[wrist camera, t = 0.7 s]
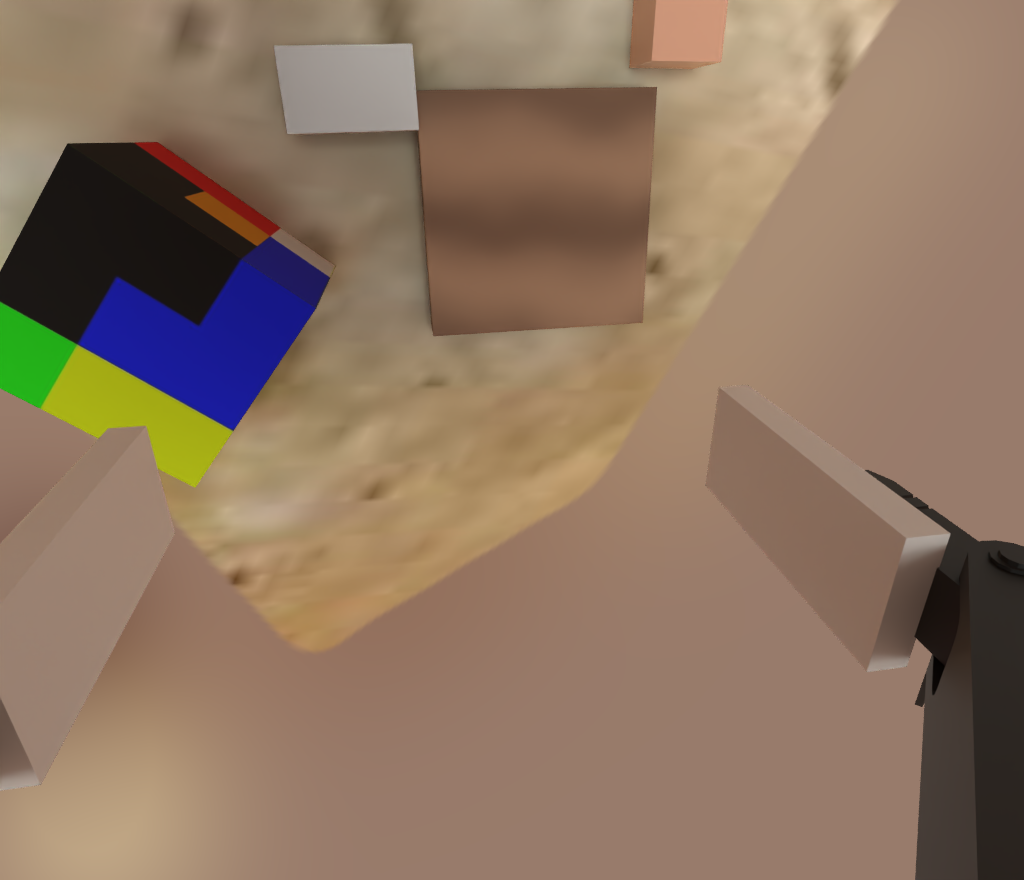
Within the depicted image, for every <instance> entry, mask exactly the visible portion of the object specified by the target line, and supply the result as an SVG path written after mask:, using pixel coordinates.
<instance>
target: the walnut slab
mask: <svg viewBox="0 0 1024 880" xmlns="http://www.w3.org/2000/svg"><path fill="white" fill-rule="evenodd" d="M656 93H657V87H637V88H566V89H496V90H426V91H416V97H417V109H418V121H419V130H418V131H417V134H418V148H419V161H420V175H421V188H422V202H423V215H424V229H425V243H426V256H427V270H428V283H429V297H430V311H431V324H432V331H433V336H443V335H459V334H475V333H490V332H506V331H521V330H537V329H552V328H568V327H584V326H599V325H615V324H630V323H643V306H644V290H645V273H646V257H647V241H648V224H649V208H650V192H651V175H652V159H653V143H654V126H655V110H656Z"/></svg>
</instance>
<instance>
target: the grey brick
mask: <svg viewBox="0 0 1024 880" xmlns="http://www.w3.org/2000/svg"><path fill="white" fill-rule="evenodd" d="M274 52H275V58H276V64H277V71H278V77H279V84H280V90H281V97H282V103H283V109H284V116H285V122H286V129H287V134H294V135H303V134H335V133H366V132H398V131H418V130H419V121H418V109H417V97H416V84H415V72H414V59H413V47H412V44H350V45H281V46H274Z"/></svg>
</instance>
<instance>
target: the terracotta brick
mask: <svg viewBox="0 0 1024 880" xmlns="http://www.w3.org/2000/svg"><path fill="white" fill-rule="evenodd" d="M727 5H728V0H634V2H633V18H632V34H631V50H630V65H629V68H682V69H694V68H698V67H702V66H706V65H711V64H715V63H719V62H721V58H722V49H723V41H724V32H725V23H726V14H727Z"/></svg>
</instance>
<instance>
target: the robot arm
mask: <svg viewBox="0 0 1024 880" xmlns="http://www.w3.org/2000/svg"><path fill="white" fill-rule="evenodd" d="M706 487H707V488H708V489H709V490H710V491H711V493H712V494H713V495H714V496H715V497H716V498H717V500H718V501H719V502H720V503H721V504H722V505H723V506H724V508H725V509H726V510H727V511H728V512H729V513H730V514H731V516H732V517H733V518H734V519H735V520H736V522H737V523H738V524H739V525H740V526H741V527H742V528H743V530H744V531H745V532H746V533H747V534H748V535H749V536H750V538H751V539H752V540H753V541H754V542H755V543H756V545H757V546H758V547H759V548H760V549H761V550H762V552H763V553H764V554H765V555H766V556H767V557H768V558H769V560H770V561H771V562H772V563H773V564H774V565H775V566H776V567H777V569H778V570H779V571H780V572H781V573H782V575H783V576H784V577H785V578H786V579H787V580H788V582H789V583H790V584H791V585H792V586H793V587H794V588H795V590H796V591H797V592H798V593H799V594H800V595H801V597H802V598H803V599H804V600H805V601H806V602H807V604H808V605H809V606H810V607H811V608H812V609H813V610H814V612H815V613H816V614H817V615H818V616H819V617H820V619H821V620H822V621H823V622H824V623H825V624H826V625H827V627H828V628H829V629H830V630H831V631H832V632H833V634H834V635H835V636H836V637H837V638H838V639H839V640H840V641H841V643H842V644H843V645H844V646H845V647H846V649H847V650H848V651H849V652H850V653H851V654H852V656H853V657H854V658H855V659H856V660H857V661H858V663H859V664H860V665H861V666H862V667H863V668H864V669H865V671H866V672H871V671H877V670H885V669H892V668H899V667H906V666H907V664H908V661H909V658H910V655H911V652H912V649H913V646H914V643H915V640H916V638H917V639H918V640H919V641H920V642H921V643H922V644H923V645H924V646H925V647H926V648H927V649H928V650H929V651H930V652H931V653H932V656H931V659H930V662H929V666H928V668H927V671H926V674H925V677H924V679H923V682H922V685H921V688H920V691H919V694H918V697H917V700H916V703H915V705H918V706H921V707H922V706H923V705H924V703H925V706H924V707H925V708H924V725H923V745H922V763H921V782H920V801H919V820H918V821H919V822H918V839H917V858H916V859H917V860H916V876H915V880H1024V547H1023V546H1020V545H1017V544H1014V543H1008V542H1002V541H980V542H979V541H977V540H976V539H974V538H973V537H971V536H970V535H969V534H967V533H966V532H965V531H963V530H962V529H960V528H959V527H958V526H956V525H955V524H953V523H952V522H950V521H949V520H948V519H946V518H945V517H943V516H942V515H940V514H939V513H938V512H936V511H935V510H933V509H929V508H928V505H927V504H925V503H924V502H922V501H921V500H920V499H918V498H917V497H915V498H913V494H911V493H910V492H908V491H907V490H905V489H904V488H903V487H901V486H900V485H899V484H897V483H896V482H894V481H892V480H890V479H888V478H885V477H883V476H881V475H878V474H876V473H874V472H872V471H869V470H863V469H862V468H861V467H859V466H858V465H857V464H855V463H854V462H852V461H851V460H850V459H848V458H847V457H846V456H844V455H843V454H842V453H840V452H839V451H837V450H836V449H835V448H833V447H832V446H831V445H829V444H828V443H826V442H825V441H824V440H822V439H821V438H820V437H818V436H817V435H816V434H814V433H813V432H811V431H810V430H809V429H807V428H806V427H805V426H803V425H802V424H801V423H799V422H798V421H796V420H795V419H794V418H792V417H791V416H790V415H788V414H787V413H786V412H784V411H783V410H782V409H780V408H779V407H777V406H776V405H775V404H773V403H772V402H771V401H769V400H768V399H767V398H765V397H764V396H762V395H761V394H760V393H758V392H757V391H755V390H754V389H753V388H752V387H750V386H749V385H741V386H727V387H719V389H718V397H717V404H716V412H715V419H714V426H713V433H712V441H711V448H710V456H709V464H708V470H707V478H706ZM174 534H175V531H174V527H173V524H172V520H171V516H170V513H169V509H168V505H167V501H166V498H165V494H164V490H163V486H162V483H161V479H160V475H159V472H158V468H157V464H156V460H155V457H154V453H153V449H152V446H151V442H150V438H149V434H148V431H147V427H146V426H136V427H121V428H108V429H107V430H106V431H105V432H104V433H103V434H102V436H101V437H100V438H99V439H98V440H97V441H96V442H95V443H94V444H93V445H92V446H91V448H89V450H88V451H87V452H86V453H85V454H84V455H83V456H82V457H81V458H80V459H79V460H78V461H77V462H76V464H74V465H73V466H72V468H71V469H70V470H69V471H68V472H67V473H66V474H65V475H64V476H63V477H62V478H61V479H60V480H59V481H58V482H57V484H56V485H55V486H54V487H53V488H52V489H51V490H50V491H49V492H48V493H47V494H46V496H45V497H44V498H43V499H42V500H41V501H40V502H39V503H38V504H37V505H36V506H35V507H34V508H33V509H32V510H31V511H30V513H28V515H27V516H26V517H25V518H24V519H23V520H22V521H21V522H20V523H19V524H18V525H17V526H16V527H15V528H14V529H13V531H12V532H11V533H10V534H9V535H8V536H7V537H6V538H5V539H4V540H3V541H2V542H1V543H0V790H8V789H15V788H22V787H29V786H37V785H41V784H42V782H43V780H44V778H45V776H46V774H47V772H48V770H49V769H50V767H51V765H52V763H53V761H54V759H55V757H56V755H57V754H58V752H59V750H60V748H61V746H62V744H63V742H64V740H65V739H66V737H67V735H68V733H69V731H70V729H71V727H72V725H73V723H74V722H75V720H76V718H77V716H78V714H79V712H80V710H81V709H82V707H83V705H84V703H85V701H86V699H87V697H88V695H89V694H90V692H91V690H92V688H93V686H94V684H95V682H96V680H97V679H98V677H99V675H100V673H101V671H102V669H103V667H104V665H105V663H106V662H107V660H108V658H109V656H110V654H111V652H112V650H113V649H114V647H115V645H116V643H117V641H118V639H119V637H120V635H121V633H122V632H123V630H124V628H125V626H126V624H127V622H128V620H129V618H130V617H131V615H132V613H133V611H134V609H135V607H136V605H137V603H138V602H139V600H140V598H141V596H142V594H143V592H144V590H145V588H146V587H147V585H148V583H149V581H150V579H151V577H152V575H153V573H154V572H155V570H156V568H157V566H158V564H159V562H160V560H161V559H162V556H163V555H164V553H165V551H166V549H167V547H168V545H169V544H170V542H171V540H172V538H173V536H174Z"/></svg>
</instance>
